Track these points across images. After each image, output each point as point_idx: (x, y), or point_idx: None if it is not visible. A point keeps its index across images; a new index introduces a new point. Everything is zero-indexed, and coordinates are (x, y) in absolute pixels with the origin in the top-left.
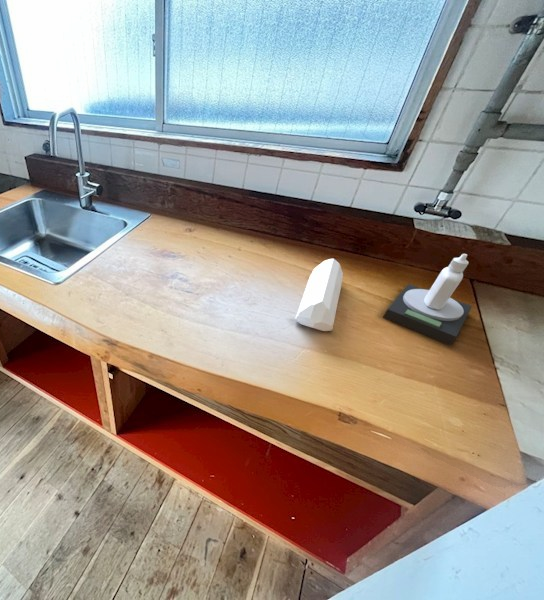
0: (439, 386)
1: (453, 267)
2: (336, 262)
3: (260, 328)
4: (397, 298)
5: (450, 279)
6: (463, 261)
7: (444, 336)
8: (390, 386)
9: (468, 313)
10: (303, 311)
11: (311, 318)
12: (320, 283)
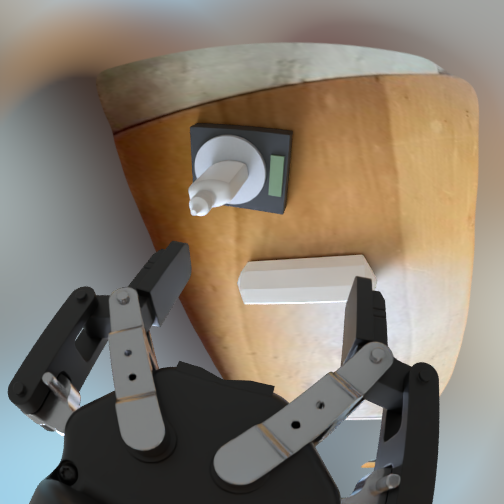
0: (389, 138)
1: (212, 206)
2: (245, 295)
3: (393, 307)
4: (245, 207)
5: (230, 195)
6: (202, 205)
7: (290, 143)
8: (421, 186)
9: (213, 127)
10: None
11: (375, 286)
12: (313, 302)
